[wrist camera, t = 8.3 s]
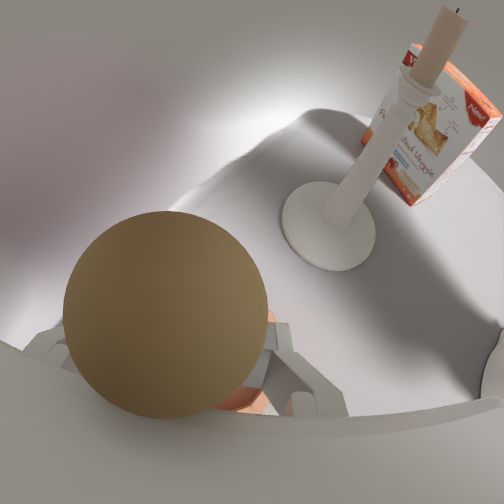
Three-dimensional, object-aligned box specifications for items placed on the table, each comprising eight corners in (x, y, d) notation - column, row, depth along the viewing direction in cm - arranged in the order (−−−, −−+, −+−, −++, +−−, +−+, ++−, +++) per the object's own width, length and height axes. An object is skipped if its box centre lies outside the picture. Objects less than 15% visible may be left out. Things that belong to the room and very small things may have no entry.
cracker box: (358, 142, 43) (410, 40, 24) (381, 136, 45) (432, 45, 26) (409, 209, 39) (492, 116, 20) (429, 198, 41) (505, 115, 21)
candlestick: (260, 223, 35) (330, -46, 8) (318, 169, 40) (398, -27, 12) (341, 292, 33) (552, 96, 5) (387, 225, 37) (525, 59, 10)
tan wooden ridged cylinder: (245, 327, 18) (307, 207, 5) (236, 393, 17) (282, 465, 3) (178, 316, 18) (85, 178, 5) (167, 381, 16) (24, 398, 3)
